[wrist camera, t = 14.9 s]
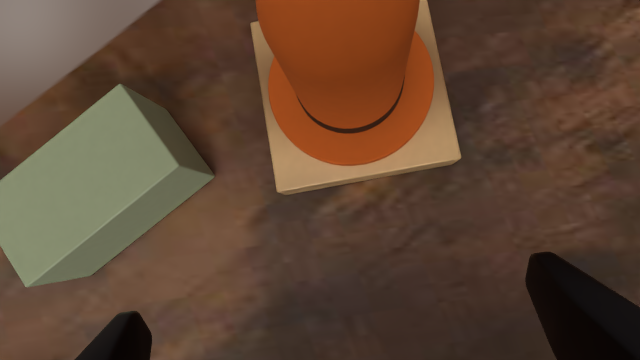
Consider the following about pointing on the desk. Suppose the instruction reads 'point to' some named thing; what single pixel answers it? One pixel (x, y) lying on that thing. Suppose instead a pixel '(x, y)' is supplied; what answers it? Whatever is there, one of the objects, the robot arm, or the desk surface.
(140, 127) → the sage box
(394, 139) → the hat
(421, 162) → the stand
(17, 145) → the desk surface
